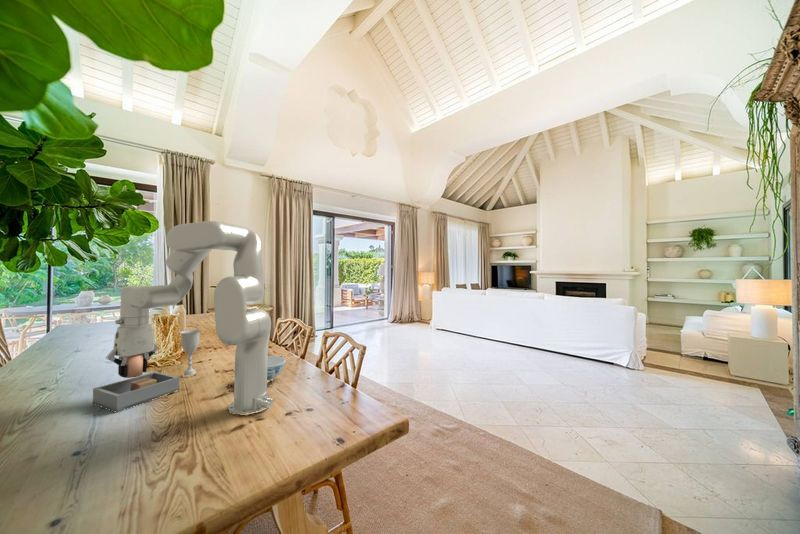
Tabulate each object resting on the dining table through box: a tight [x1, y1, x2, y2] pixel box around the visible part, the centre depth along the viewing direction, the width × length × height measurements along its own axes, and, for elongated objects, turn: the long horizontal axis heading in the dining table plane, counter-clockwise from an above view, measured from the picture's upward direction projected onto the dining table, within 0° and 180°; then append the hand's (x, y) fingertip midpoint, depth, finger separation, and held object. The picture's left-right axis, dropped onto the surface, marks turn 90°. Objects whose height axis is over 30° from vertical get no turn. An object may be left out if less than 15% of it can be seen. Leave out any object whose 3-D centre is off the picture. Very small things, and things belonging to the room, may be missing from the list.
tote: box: [92, 371, 180, 413], centre depth 105 cm, size 14×18×5 cm
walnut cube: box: [130, 378, 157, 391], centre depth 104 cm, size 5×5×5 cm
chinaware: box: [267, 355, 286, 380], centre depth 122 cm, size 15×15×8 cm
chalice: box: [179, 329, 202, 376], centre depth 126 cm, size 7×7×18 cm
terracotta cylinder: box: [123, 354, 144, 379], centre depth 106 cm, size 5×5×7 cm
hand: (133, 373), depth 106 cm, fingers closed on terracotta cylinder, 4 cm apart
